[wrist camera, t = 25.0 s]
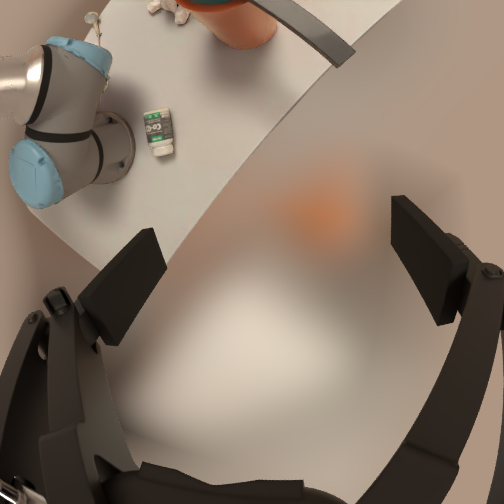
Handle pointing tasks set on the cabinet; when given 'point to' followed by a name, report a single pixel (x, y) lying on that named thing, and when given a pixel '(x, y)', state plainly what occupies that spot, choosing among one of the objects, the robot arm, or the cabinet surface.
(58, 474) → the robot arm
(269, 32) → the pedestal
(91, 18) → the shower head
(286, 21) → the disc paddle
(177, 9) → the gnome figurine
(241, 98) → the cabinet surface
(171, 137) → the pill bottle
